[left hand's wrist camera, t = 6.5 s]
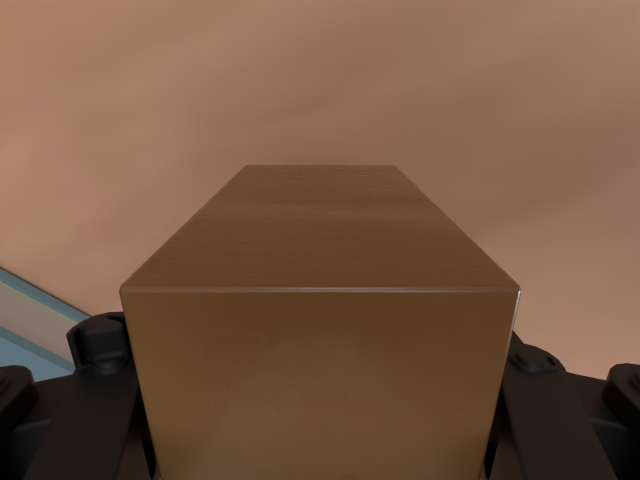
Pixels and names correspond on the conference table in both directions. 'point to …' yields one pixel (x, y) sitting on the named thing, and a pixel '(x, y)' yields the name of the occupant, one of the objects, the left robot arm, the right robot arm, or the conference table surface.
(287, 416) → the bar
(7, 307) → the book
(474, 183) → the conference table surface
